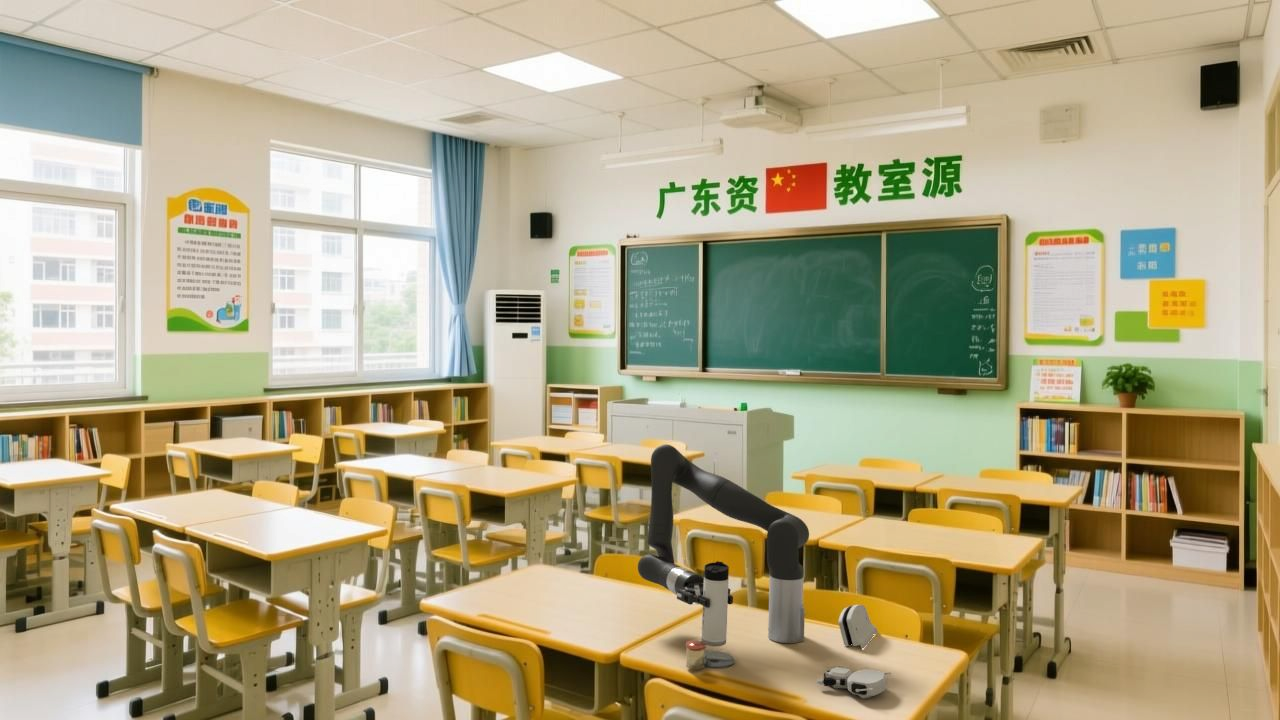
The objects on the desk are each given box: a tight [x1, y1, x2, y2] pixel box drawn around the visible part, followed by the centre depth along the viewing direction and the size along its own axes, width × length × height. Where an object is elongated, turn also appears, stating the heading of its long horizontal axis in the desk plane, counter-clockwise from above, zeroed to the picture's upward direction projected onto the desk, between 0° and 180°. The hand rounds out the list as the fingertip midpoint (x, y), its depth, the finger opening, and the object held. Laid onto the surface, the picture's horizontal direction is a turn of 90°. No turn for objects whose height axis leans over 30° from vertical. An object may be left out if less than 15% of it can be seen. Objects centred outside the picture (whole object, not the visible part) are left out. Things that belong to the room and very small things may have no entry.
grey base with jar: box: [685, 639, 735, 671], centre depth 220 cm, size 16×10×6 cm, turn 138°
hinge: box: [837, 604, 879, 649], centre depth 241 cm, size 17×5×10 cm, turn 151°
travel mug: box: [701, 560, 730, 648], centre depth 222 cm, size 6×7×20 cm
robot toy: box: [816, 666, 892, 699], centre depth 205 cm, size 12×4×15 cm
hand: (720, 602), depth 220 cm, fingers closed on travel mug, 6 cm apart
